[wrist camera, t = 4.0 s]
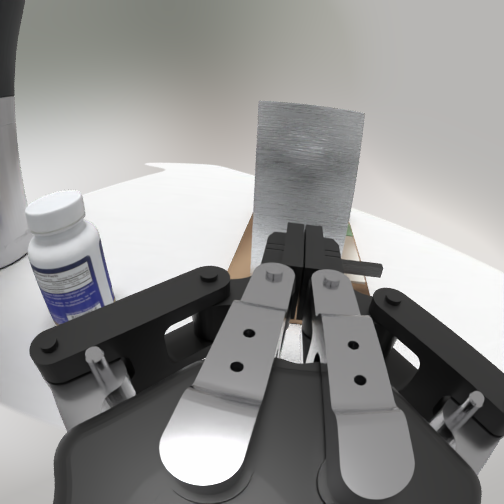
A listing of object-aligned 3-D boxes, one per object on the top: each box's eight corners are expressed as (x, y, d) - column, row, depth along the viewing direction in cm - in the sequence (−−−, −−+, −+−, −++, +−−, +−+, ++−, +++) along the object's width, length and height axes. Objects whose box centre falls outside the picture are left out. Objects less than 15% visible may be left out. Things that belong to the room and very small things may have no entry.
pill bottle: (71, 289, 21) (45, 188, 17) (125, 294, 22) (105, 183, 17) (44, 333, 17) (0, 219, 12) (103, 343, 17) (64, 217, 12)
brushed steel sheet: (249, 279, 21) (258, 101, 15) (254, 264, 23) (263, 100, 17) (378, 294, 20) (418, 125, 14) (373, 278, 22) (407, 122, 16)
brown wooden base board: (215, 312, 20) (215, 295, 20) (258, 208, 38) (258, 197, 37) (370, 330, 19) (376, 315, 18) (343, 218, 36) (345, 207, 36)
